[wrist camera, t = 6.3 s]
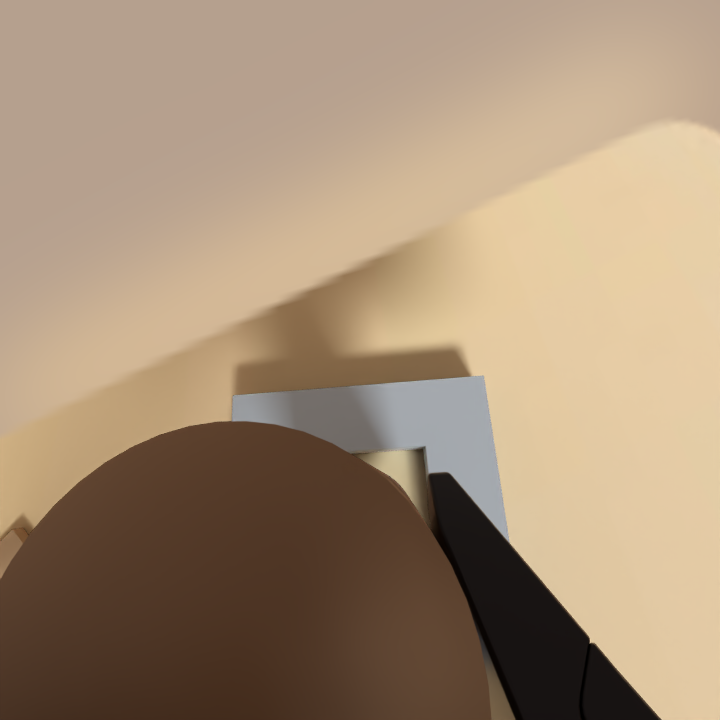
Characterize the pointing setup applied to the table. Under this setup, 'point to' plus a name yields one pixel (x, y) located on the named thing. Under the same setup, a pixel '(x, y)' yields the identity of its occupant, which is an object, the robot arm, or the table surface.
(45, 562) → the walnut dowel
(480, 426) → the holder block
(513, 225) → the table surface
